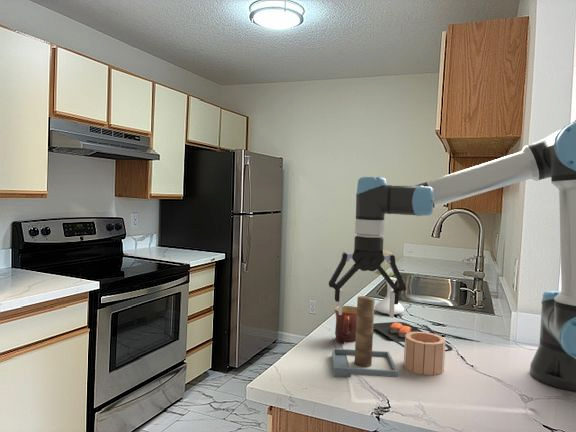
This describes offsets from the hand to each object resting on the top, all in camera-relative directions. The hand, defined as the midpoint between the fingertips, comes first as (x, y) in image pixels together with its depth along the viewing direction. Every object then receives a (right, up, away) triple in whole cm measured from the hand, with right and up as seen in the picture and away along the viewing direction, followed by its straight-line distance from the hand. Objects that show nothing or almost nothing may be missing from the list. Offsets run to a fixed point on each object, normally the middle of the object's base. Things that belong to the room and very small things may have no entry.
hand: (365, 315), depth 118 cm
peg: (-1, -13, +1) cm, 14 cm away
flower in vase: (+19, -12, +58) cm, 62 cm away
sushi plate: (+26, -15, +28) cm, 41 cm away
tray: (-1, -14, +1) cm, 14 cm away
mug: (-2, -13, +20) cm, 24 cm away
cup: (+15, -15, 0) cm, 21 cm away
